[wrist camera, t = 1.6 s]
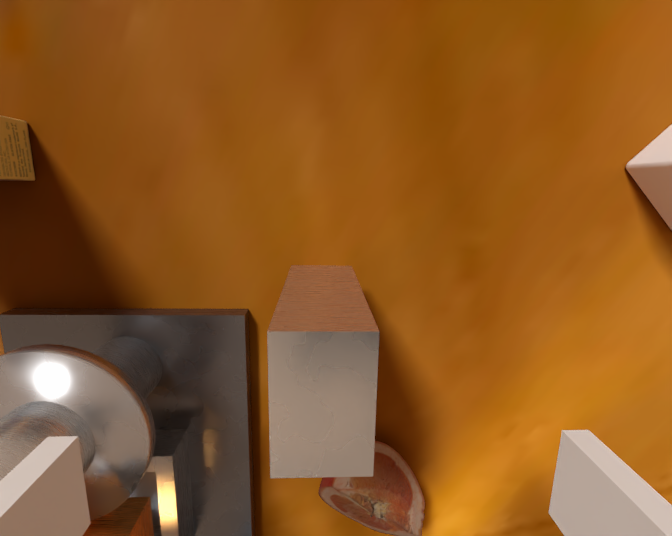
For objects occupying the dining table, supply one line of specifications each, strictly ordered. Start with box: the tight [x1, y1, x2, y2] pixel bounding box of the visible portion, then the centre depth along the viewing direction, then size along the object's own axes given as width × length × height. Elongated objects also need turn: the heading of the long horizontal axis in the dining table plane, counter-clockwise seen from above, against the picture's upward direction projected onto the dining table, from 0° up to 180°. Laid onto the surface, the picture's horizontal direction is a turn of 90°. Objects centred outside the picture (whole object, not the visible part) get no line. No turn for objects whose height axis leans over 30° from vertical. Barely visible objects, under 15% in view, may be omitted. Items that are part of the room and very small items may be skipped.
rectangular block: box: [267, 265, 379, 478], centre depth 21 cm, size 6×4×15 cm, turn 179°
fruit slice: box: [319, 441, 425, 536], centre depth 30 cm, size 8×7×5 cm
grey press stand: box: [0, 308, 255, 536], centre depth 22 cm, size 22×17×18 cm
